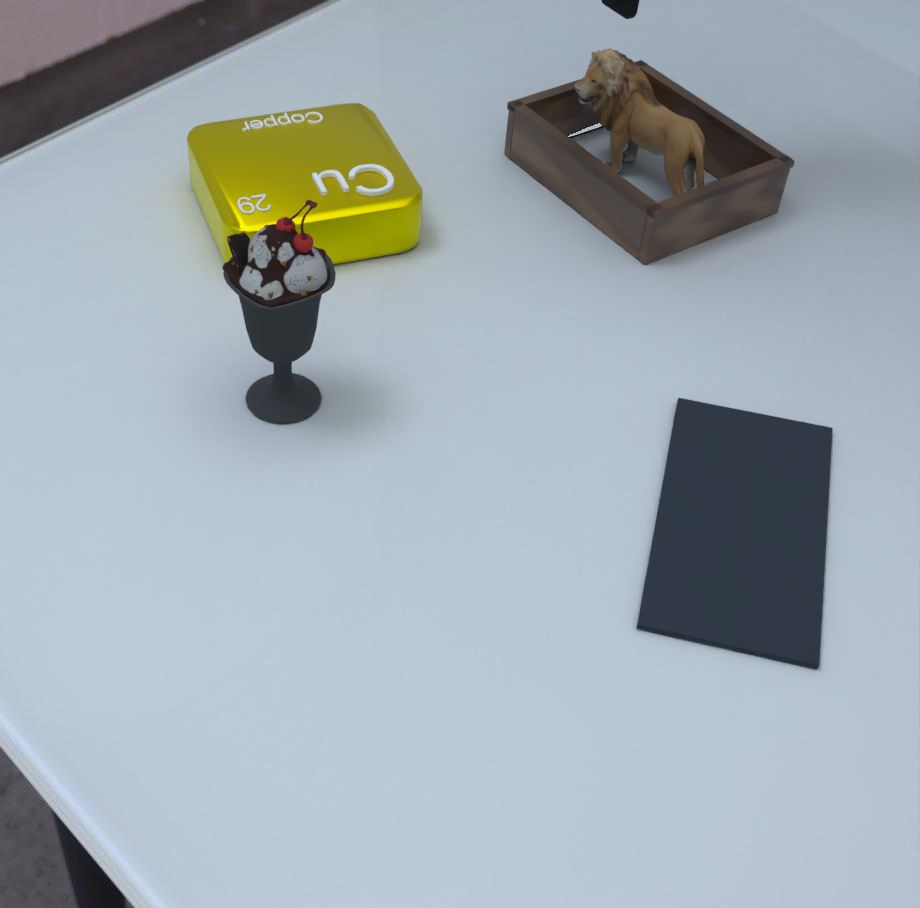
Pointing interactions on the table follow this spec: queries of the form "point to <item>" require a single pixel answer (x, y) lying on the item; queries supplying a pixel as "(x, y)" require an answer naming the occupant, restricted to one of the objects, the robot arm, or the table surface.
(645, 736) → the table surface
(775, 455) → the mat
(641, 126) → the lion figurine
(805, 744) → the table surface
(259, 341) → the sundae
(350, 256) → the element tile
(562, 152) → the wooden box
